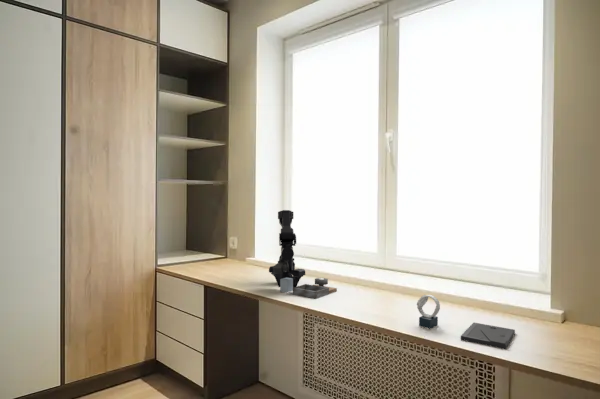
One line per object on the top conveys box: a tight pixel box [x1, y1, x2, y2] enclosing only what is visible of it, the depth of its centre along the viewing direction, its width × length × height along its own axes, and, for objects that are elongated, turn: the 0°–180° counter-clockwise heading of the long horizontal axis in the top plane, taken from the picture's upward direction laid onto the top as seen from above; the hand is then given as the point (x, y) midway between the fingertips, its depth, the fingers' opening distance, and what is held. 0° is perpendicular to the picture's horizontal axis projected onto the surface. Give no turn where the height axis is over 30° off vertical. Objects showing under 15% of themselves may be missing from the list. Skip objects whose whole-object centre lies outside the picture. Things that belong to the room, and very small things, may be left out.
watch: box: [416, 294, 441, 329], centre depth 146 cm, size 6×8×11 cm
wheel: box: [314, 277, 329, 286], centre depth 198 cm, size 6×6×2 cm
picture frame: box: [460, 322, 516, 350], centre depth 135 cm, size 13×2×18 cm
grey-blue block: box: [279, 278, 293, 294], centre depth 197 cm, size 4×5×6 cm
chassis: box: [292, 283, 338, 299], centre depth 194 cm, size 14×18×3 cm
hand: (286, 288), depth 197 cm, fingers open, 9 cm apart
